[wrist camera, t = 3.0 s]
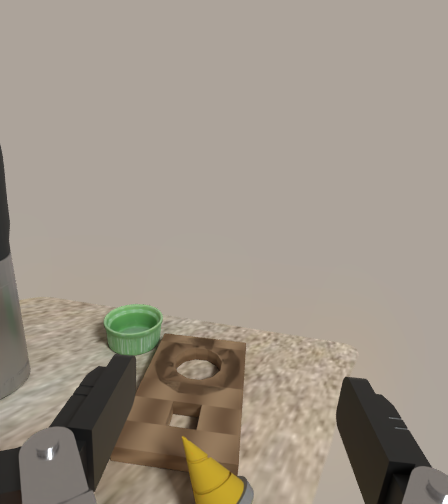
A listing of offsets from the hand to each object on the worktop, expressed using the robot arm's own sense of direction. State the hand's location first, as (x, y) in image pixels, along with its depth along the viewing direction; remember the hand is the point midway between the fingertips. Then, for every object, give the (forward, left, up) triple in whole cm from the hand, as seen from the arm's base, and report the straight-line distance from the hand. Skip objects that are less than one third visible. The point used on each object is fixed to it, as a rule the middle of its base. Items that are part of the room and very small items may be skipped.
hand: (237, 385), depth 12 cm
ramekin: (-17, +33, -23) cm, 44 cm away
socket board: (-6, +23, -23) cm, 33 cm away
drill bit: (-1, +9, -23) cm, 25 cm away
